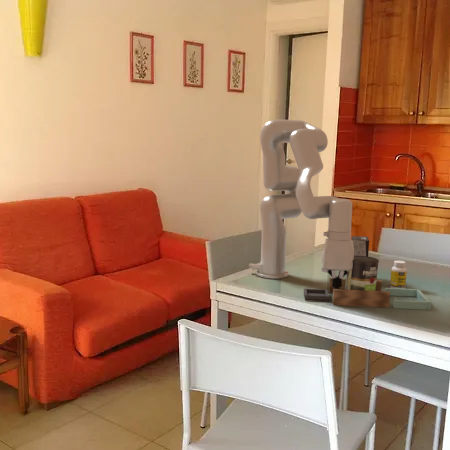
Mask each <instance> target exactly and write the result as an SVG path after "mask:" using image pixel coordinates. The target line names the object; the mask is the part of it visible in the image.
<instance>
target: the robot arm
mask: <svg viewBox="0 0 450 450" xmlns="http://www.w3.org/2000/svg"><path fill="white" fill-rule="evenodd" d="M259 139H260V146H261V151H262V171H263V172H262V175H263V185H264V188H265V189H266V190H267V191H270V192H280V191H284V192H285V193H284V194H283V193H280V194H278V193H277V194H270V195H267V196H264V197H263V198H262V199H261V201H260V204H259V212H260V217H261V218H260V219H261V244H260V245H261V248H260V250H261V251H260V261H259V262H258V263H249V264H248V269H251V270H256V275H257V276H258V277H261V278H265V279H270V280H271V279H275V280H277V279H284V278H288V277H289V274H290V272H289V271H288V270H286V252H287V248H286V247H287V228H286V225H285V223H284V221H283V220H284V219H285V220H286V219H295V218H298V217H299V216H301V214H303V216H304V217H305V218H307V219H308V220H309V219H310V220H315V219H317V220H318V219H327V218H328V221H327V222H328V223H327V227H328V228H327V231H323V237H327V238H325V240H324V246H323V252H322V266H321V269H320V270H321V272H324V273H328V274H329V275H330V276H331V278H332V287H334V289H339V287H341V284H342V279H344V277H346V274H348V271H349V270H352V268H353V262H352V260H354V245H353V241H352V240H351V239H352V218H353V217H352V216H353V202H352V200H351V199H347V198H339V197H337V196H333V195H323V196H322V195H319V196H318V195H317V196H314V193H313V192H312V188H311V187H312V186H311V180H312V178H313V177H314V176H316V175H318V174H319V173H320V172H321V171H323V169H324V163H323V161H322V158H321V155H320V153H321V152H323V151H325V150H326V149H327V147H328V143H329V141H328V136H327V134H326V132H325V131H323V130H322V129H321V128H319V127H317V126H315V125H313V124H311V123H308V122H307V121H304V120H300V119H271V120H269V121H267V122H266V123H265V124H263V126H262V128H261V130H260V135H259ZM282 143H283V144H285V143H286V144H289V146H290V148H291V150H292V154H293V156H294V160H295V162H296V165H297V166H294V165H286V154H285V151H284V149H283V147H282V145H281V144H282ZM336 271H338V275H336Z"/></svg>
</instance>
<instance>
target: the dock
mask: <svg viewBox="0 0 450 450" xmlns="http://www.w3.org/2000/svg"><path fill="white" fill-rule="evenodd" d="M384 291H389V292H390V296H399V297H416V299H417V300H407V299H393V303H392V308H393V309H409V310H410V309H411V310H428V311H429V310H431V301H430V300H429V299H428V298H427V296H426V295H425V294H424V293H423V292H422V291H421V290H420V289H419V288H418V289H417V288H404V289H403V288H391V287H385V288H384Z"/></svg>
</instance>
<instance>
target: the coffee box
mask: <svg viewBox="0 0 450 450" xmlns="http://www.w3.org/2000/svg"><path fill="white" fill-rule="evenodd" d="M351 240H352V241H353V245H354V256H368V257H369V251H370V250H369V248H370V239H369V237H368V236H361V235H360V236H359V235H357V236H356V235H355V236H353V235H351Z"/></svg>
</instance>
